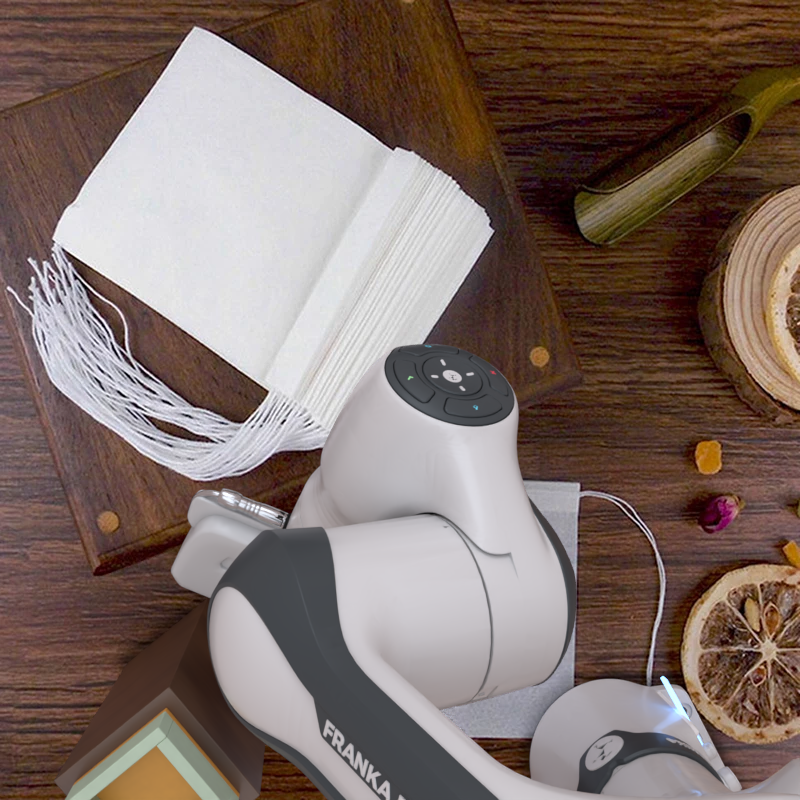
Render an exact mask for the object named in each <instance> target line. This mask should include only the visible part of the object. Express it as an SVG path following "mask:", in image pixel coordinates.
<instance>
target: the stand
mask: <svg viewBox="0 0 800 800" xmlns="http://www.w3.org/2000/svg"><path fill="white" fill-rule="evenodd" d="M209 601H210V598H208V597H206V598H205V599H204V600H203V601H202V602H201V603H199V604H198V605H197V606H196V607H194V608H193V609H192V610H191V611H190V612H188V613H187V614H186V615H184V616H183V617H182V618H181V619H179V620H178V621H177V622H176V623H174V625H172V626H171V627H169V629H167V630H165V632H163V633H162V634H161V635H160V636H159V637H158V638H156V639H155V640H154V641H153V642H151V643H150V644H149V645H147V646H146V647H145V648H144V649H142V650H141V651H140V652H139V653H138V654H136V655H135V656H134V657H132V658H131V659H130V660H129V661H128V662H127V663H126V664H125V666H124V668H123V669H122V671H121V673H120V674H119V675H118V677H117V679H116V681H115V682H114V683H113V685H112V686H111V687H110V690H109V691H108V693H107V694H106V696H105V698H104V700H103V701H102V703H101V704H100V706H99V708H98V709H97V711H96V712H95V714H94V715H93V717H92V718H91V720H90V722H89V724H88V725H87V727H86V728H85V730H84V731H83V733H82V735H81V736H80V737H79V740H78V741H77V743H76V744H75V746H73V747H74V748H73V749H72V750H71V752H70V754H69V755H68V757H67V759H66V760H65V762H64V763H63V765H62V766H61V768H60V769H59V771H58V773H57V775H56V776H55V778H54V780H53V783H54V784H55V785H56V786H57V787H58V788H59V790H60V791H62V792H63V794H64V795H65V796H66V797H67V795H68V794H69V792H70V790H71V788H72V787H73V785H74V783H75V782H76V781H77V780H78V779H79V778H81V777H82V776H83V775H84V774H86V773H87V772H88V771H89V770H90V769H92V768H93V767H94V766H95V765H97V764H98V763H99V762H100V761H101V760H103V759H104V758H105V757H106V756H108V755H109V754H110V753H111V752H113V751H114V750H115V749H116V748H117V747H119V746H120V745H121V744H122V743H124V742H125V741H126V740H127V739H128V738H130V737H131V736H132V735H133V734H135V733H136V732H137V731H138V730H139V729H141V728H142V727H143V726H144V725H146V724H147V723H148V722H149V721H150V720H152V719H153V718H154V717H155V716H157V715H158V714H159V713H160V712H162V711H163V710H164V709H165V708H167V709H168V710H169V711H170V712H171V713H172V714H173V716H174V717H175V718H176V719H177V720H178V722H179V723H180V724H181V725H182V726H183V727H184V729H185V730H186V731H187V732H188V733H189V735H190V736H191V737H192V738H193V739H194V740H195V742H196V743H197V744H198V745H199V746H200V748H201V749H202V750H203V751H204V752H205V753H206V755H207V756H208V757H209V758H210V759H211V761H212V762H213V763H214V764H215V765H216V767H217V768H218V769H219V770H220V771H221V772H222V774H223V775H224V776H225V777H226V778H227V780H228V781H229V782H230V783H231V784H232V785H233V787H234V788H235V789H236V790H237V791H238V793H239V794H240V795H239V800H256V799H258V798H259V797H260V796H261V789H262V779H263V771H264V762H265V761H264V760H265V751H266V744H265V743H264V742H263V741H261V740H260V739H259V738H258V737H256V736H255V735H254V734H253V733H252V732H251V731H249V730H248V729H247V728H246V727H245V726H244V725H243V724H242V723H241V722H240V721H239V720H238V719H237V717H236V716H235V715H234V713H233V712H232V711H231V709H230V707H229V706H228V704H227V702H226V700H225V699H224V696H223V694H222V692H221V690H220V687H219V685H218V682H217V679H216V676H215V673H214V670H213V666H212V662H211V657H210V652H209V646H208V637H207V613H208V606H209Z"/></svg>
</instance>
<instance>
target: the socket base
mask: <svg viewBox="0 0 800 800" xmlns="http://www.w3.org/2000/svg"><path fill="white" fill-rule="evenodd" d="M239 795H240V794H239V793H238V791H237V790H236V789H235V788H234V787H233V785H232V784H231V783H230V782H229V781H228V780H227V778H226V777H225V776H224V775H223V774H222V772H221V771H220V770H219V769H218V768H217V767H216V765H215V764H214V763H213V762H212V761H211V759H210V758H209V757H208V756H207V755H206V753H205V752H204V751H203V750H202V749H201V748H200V746H199V745H198V744H197V743H196V742H195V740H194V739H193V738H192V737H191V736H190V735H189V733H188V732H187V731H186V730H185V729H184V727H183V726H182V725H181V724H180V723H179V722H178V720H177V719H176V718H175V717H174V716H173V714H172V713H171V712H170V711H169V710H168V709H167V708H165V709H164V710H163V711H162V712H160V713H159V714H158V715H157V716H155V717H154V718H153V719H152V720H150V721H149V722H148V723H147V724H146V725H144V726H143V727H142V728H141V729H139V730H138V731H137V732H136V733H135V734H133V735H132V736H131V737H130V738H128V739H127V740H126V741H125V742H124V743H122V744H121V745H120V746H119V747H117V748H116V749H115V750H114V751H113V752H111V753H110V754H109V755H108V756H106V757H105V758H104V759H103V760H101V761H100V762H99V763H98V764H97V765H95V766H94V767H93V768H92V769H90V770H89V771H88V772H87V773H86V774H84V775H83V776H82V777H81V778H79V779H78V780H77V781H76V782H75V783H74V785H73V787H72V788H71V790H70V792H69V794H68V795H67V796H66V797H65V798H64V800H239Z"/></svg>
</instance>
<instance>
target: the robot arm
mask: <svg viewBox="0 0 800 800" xmlns="http://www.w3.org/2000/svg"><path fill="white" fill-rule="evenodd" d="M518 403H519V402H518V398H517V396H516V393H515V391H514V389H513V387H512V385H511V383H509V381H508V379H507V378H506V377H505V375H504V374H502V373H501V371H500V370H498V369H497V368H496V367H495V366H494V365H492V364H491V363H490V362H489V361H487V360H485V359H483V358H481V357H480V356H478V355H476V354H474V353H472V352H469V351H467V350H464V349H461V348H458V347H457V346H452V345H447V344H441V343H418V344H417V343H416V344H415V343H414V344H408V345H401V346H396V347H394V348H392V349H390V350H388V351H387V352H385V353H384V354H383V355H382V356H380V357H379V358H378V359H376V361H375V362H373V364H372V365H370V367H369V368H368V369H367V370H366V371H365V372H364V374H363V375H362V376H361V377H360V378H359V380H358V381H357V383H356V384H355V386H354V387H353V389H352V391H351V393H350V394H349V396H348V397H347V398H346V401H345V402H344V404H343V406H342V408H341V409H340V411H339V413H338V415H337V416H336V419H335V421H334V423H333V425H332V427H331V429H330V431H329V433H328V436H327V438H326V439H325V442H324V444H323V447H322V451H321V455H320V465H319V466H318V467H317V468H316V469H315V470H314V471H313V472H312V474H310V476H309V478H308V479H307V481H306V482H305V484H304V487H303V488H302V491H301V493H300V495H299V497H298V498H297V501H296V503H295V505H294V507H293V510H292V511H291V513H288V512H286V511H284V510H281V509H279V508H277V507H274V506H271V505H269V504H266V503H264V502H263V503H262V502H260V501H257V500H254V499H251V498H248V497H246V496H243V494H242V493H240V492H238V491H236V490H233V489H229V488H226V487H225V488H224V487H223V488H222V489H221V490H220V491H218V490H215V489H200V490H198V491H197V492H195V494H194V495H193V496H192V497H191V500H190V503H189V506H188V508H187V521H188V524H189V525H190V528H189V531H188V532H187V535H186V536H185V538H184V539H183V542H182V544H181V546H180V548H179V550H178V553H177V555H176V557H175V559H174V561H173V563H172V565H171V568H170V574H171V575H172V577H173V579H174V580H175V582H176V583H177V584H178V586H180V587H182V588H184V589H186V590H189V591H191V592H194V593H197V594H199V595H201V596H204V597H206V598H209V599H210V601H209V606H208V613H207V637H208V646H209V652H210V657H211V662H212V666H213V670H214V673H215V676H216V679H217V682H218V685H219V687H220V690H221V692H222V694H223V696H224V699H225V700H226V702H227V704H228V706H229V707H230V709H231V711H232V712H233V713H234V715H235V716H236V717H237V719H238V720H239V721H240V722H241V723H242V724H243V725H244V726H245V727H246V728H247V729H248V730H249V731H251V732H252V733H253V734H254V735H255V736H256V737H258V738H259V739H260V740H261V741H263V742H264V743H265V746H268V747H269V748H271V749H272V750H273V751H275V752H276V753H278V754H279V755H280V756H282V757H283V758H285V759H286V760H287V761H289V763H291V764H292V765H294V766H295V767H296V768H297V769H298V770H299V771H300V772H302V774H303V775H304V776H305V777H306V778H307V779H309V781H310V782H311V783H312V784H313V785H314V786H315V787H316V788H317V790H318V791H319V792H320V793H321V794H322V795H323V797H325V798H326V800H800V757H797V758H793V759H791V760H790V761H788V762H787V763H786V764H785V765H784V766H783V767H781V768H780V769H779V770H777V771H776V772H774V773H773V774H772V775H771V776H769V777H767V778H766V779H764V780H763V781H761V782H759V783H757V784H755V785H753V786H750V787H748V788H745V789H743V787H742V784H741V782H740V781H739V779H738V778H737V776H736V775H735V773H734V772H733V771H732V769H731V768H730V767H729V766H727V765H726V766H725V763H724V762H723V760H722V758H721V756H720V754H719V752H718V749H717V748H716V746H715V744H714V743H713V740H712V737H711V736H710V734H709V732H708V731H707V728H706V726H705V725H704V723H703V721H702V719H701V716H700V715H699V713H698V710H697V708H696V707H695V705H694V703H693V701H692V699H691V697H690V695H689V694H688V693H687V691H686V690H685V689H684V688H683V687H682V686H681V685H678V684H673V683H672V684H671V683H670V681H669V680H668V679H667V678H666V677H665V676H664V675H662V676H661V677H660V680H661V682H662V684H660V685H652V686H647V685H643V684H639V683H636V682H633V681H629V680H625V679H620V678H619V679H618V678H600V679H594V680H590V681H586V682H583V683H581V684H578V685H577V686H574V687H573V688H571V689H568V690H567V691H566V692H564V693H563V694H561V695H560V696H559V697H558V698H557V699H556V700H555V701H553V703H552V704H551V705H550V706H549V707H548V708H547V709H546V711H545V712H544V714H543V715H542V716H541V718H540V720H539V722H538V724H537V725H536V727H535V731H534V733H533V737H532V739H531V743H530V750H529V773H530V777H527V776H526V775H523V774H520V773H519V772H516V771H514V770H513V769H511V768H509V767H507V766H505V765H504V764H502V763H501V762H499V760H496V759H495V758H494V757H493V756H492V755H491V754H489V753H488V752H487V751H486V750H484V748H482V747H481V746H480V745H479V744H478V743H477V742H475V740H473V738H471V736H469V735H468V734H467V733H466V732H465V731H464V730H462V729H461V728H460V727H459V726H458V725H457V724H455V722H454V721H452V720H451V719H450V718H449V717H448V716H447V715H446V714H444V712H442V711H443V710H447V709H450V708H455V707H462V706H466V705H471V704H474V703H477V702H481V701H485V700H486V701H487V700H489V699H493V698H497V697H501V696H505V695H508V694H511V693H514V692H517V691H521V690H524V689H528V688H531V687H536V686H539V685H540V686H541V685H542V684H544V683H545V682H547V681H548V680H549V679H550V678H551V677H552V676H554V674H555V673H556V671H557V669H558V668H559V667H560V665H561V664H562V661H563V660H564V658H565V655H566V654H567V651H568V649H569V646H570V643H571V641H572V637H573V633H574V628H575V623H576V615H577V604H578V603H577V601H578V593H577V591H578V590H577V589H578V588H577V578H576V573H575V570H574V566H573V564H572V562H571V559H570V557H569V555H568V552H567V550H566V548H565V546H564V544H563V541H562V540H561V538H560V537H559V535H558V534H557V532H556V530H555V529H554V528H553V526H552V525H551V523H550V522H549V521H548V519H547V518H546V517H545V516H544V514H543V513H542V512H541V511H540V510H539V508H538V507H537V505H536V504H535V503H534V501H532V499H531V498H530V496H529V495H528V493H527V490H526V487H525V483H524V479H523V475H522V473H521V469H520V464H519V463H520V462H519V458H518V457H519V456H518V431H519V430H518V429H519V418H520V416H519V412H520V411H519V404H518Z"/></svg>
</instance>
